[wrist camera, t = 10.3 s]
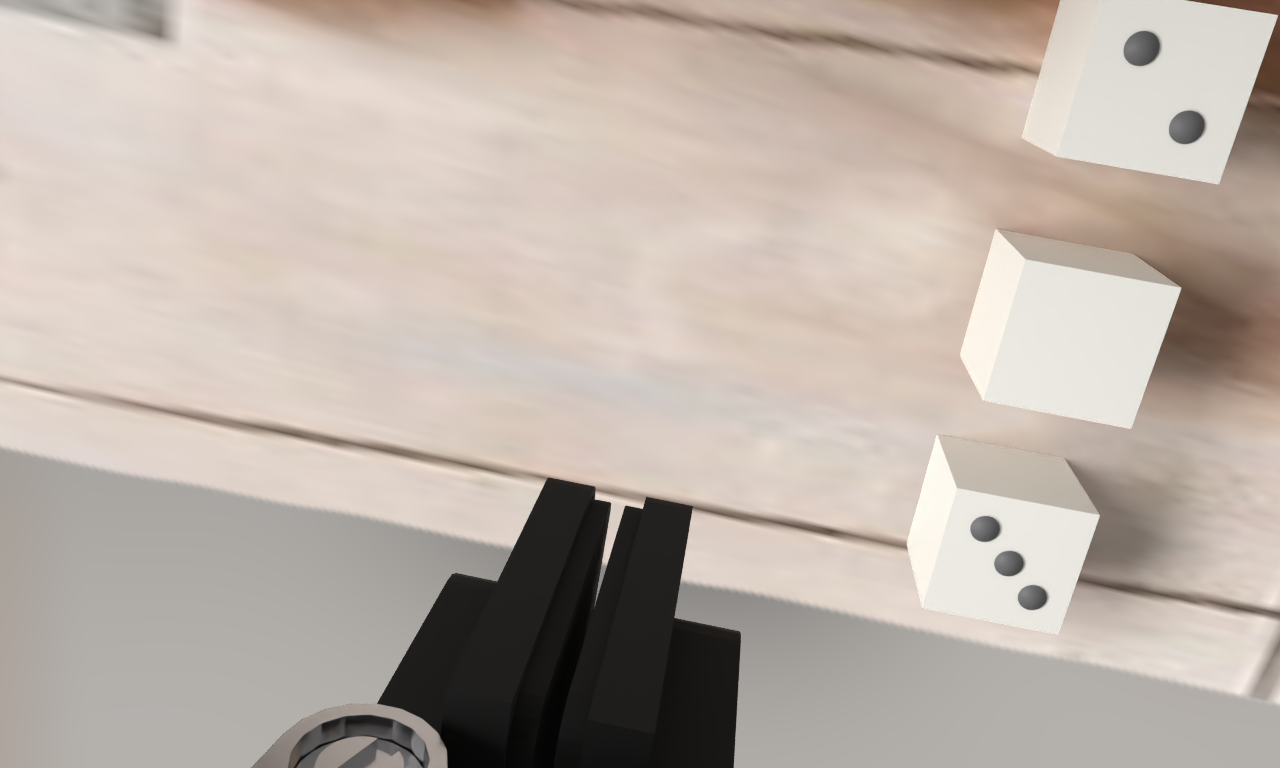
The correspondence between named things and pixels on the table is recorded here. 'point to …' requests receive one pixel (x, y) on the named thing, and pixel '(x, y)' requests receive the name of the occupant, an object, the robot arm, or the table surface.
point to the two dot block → (1147, 84)
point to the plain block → (1066, 328)
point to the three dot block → (999, 534)
